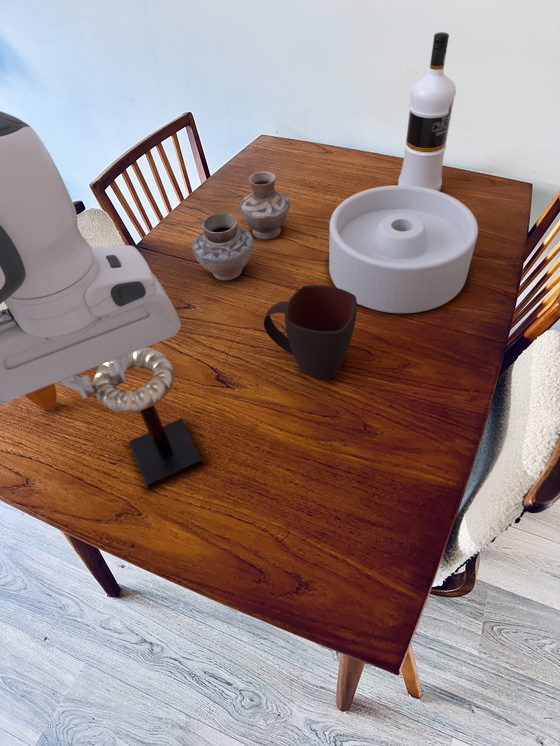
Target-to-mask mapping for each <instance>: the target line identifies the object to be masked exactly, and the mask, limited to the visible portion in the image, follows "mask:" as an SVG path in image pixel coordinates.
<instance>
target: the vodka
mask: <svg viewBox="0 0 560 746" xmlns="http://www.w3.org/2000/svg"><path fill="white" fill-rule="evenodd" d="M449 37H450V34H449V33H448V32H445V31H441V32H436V33H434V35H433V41H432V47H431V48H432V49H431V55H430V56H431V57H430V63H429V68H428V69H429V70H428V73H427V74H425V75H423V76H422V77H421V78H419V79H418V80H416V81H415V82H414V83H413V85H412V87H411V90H410V100H409V102H410V103H409V106H408V107H409V113H408V121H407V122H408V123H407V129H406V137H405V138H406V139H405V142H404V153H403V154H404V155H403V159H402V160H403V161H402V165H401V170H400V174H399V176H398V181H397V185H407V186H418V187H424V188H428V189H433V190H436V191H439V192H441V189H442V185H443V184H442V183H443V178H442V174H443V163H444V157H445V153H446V149H447V141H448V134H449V130H450V124H451V117H452V113H453V106H454V100H455V97H456V94H457V89H456V88H457V87H456V84H455V83H454V81H453V80H452V79H451V78H450V77H448V76H447V75H446V74H444V73H445V72H444V71H445V62H446V57H447V50H448V43H449Z"/></svg>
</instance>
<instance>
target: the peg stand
mask: <svg viewBox="0 0 560 746" xmlns="http://www.w3.org/2000/svg"><path fill="white" fill-rule="evenodd" d="M138 412H139V414H140V417H141V419H142V421H143V422H144V423H143V424H144V426H145V428H146V430H147V433H145V434H143V435H140V436H138V437H136V438H134V439H131V440H129V442H128V443H129V446H130V448H131V450H132V453H133V456H134V458H135V461H136V464H137V466H138V468H139V471H140V473H141V476H142V479H143V481H144V484H145V486H146V488H147V490H151V489H152V488H154V487H157V486H158V485H161V484H163V483H165V482H168V481H169V480H172V479H174V478H176V477H178V476H180V475H182V474H184V473H186V472H188V471H191V470H193V469H195V468H198V467H200V466H202V465H204V461H203V459H202V456H201V455H200V453H199V451H198V449H197V447H196V444H195V443H194V440H193V438H192V436H191V435H190V432H189V430H188V428H187V426H186V424H185V423H184V420H183V419H182V418H179V419H177V420H174V421H173V422H170V423H168V424H165V425H163V423H162V420H161V417H160V415H159V413H158V410H157V408H156V405H154V406H151V407H149V408H146V409H144V410H141V411H138Z"/></svg>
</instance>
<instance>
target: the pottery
mask: <svg viewBox="0 0 560 746" xmlns="http://www.w3.org/2000/svg"><path fill="white" fill-rule="evenodd" d="M276 179H277V177H276V174H275V173H273V172H271V171H265V170H262V171H261V170H260V171H257V172H255V173H252V174H251V175H249V177H248V183H249V185H250V187H251V190H252V192H251V193H249V194H248V195H246V196H245V197H244V198H243V199H242V200H241V201H240V203H239V211H240V213H241V215H242V217H243V220H244V221H245V223H246V224H247V225H248V226H249V228H251V229H252V233H251V232H250V231H249V230H247V229H245V228H243V227H240V226H238V219H237V218H236V216H235V215H233V214H230V213H225V212H218V213H214V214H211V215H209V216H207V217H206V218H204V220H202V221H203V222H202V230H203V232H201V233H200V234H199V235H197V236H196V238H195V239H194V240H193V242H192V245H191V248H192V249H191V250H192V253H193V255H194V258H195V259H196V261H197V262H198V264H199V265H200V266H201V267H202V268H203V269H205V270H206V271H207V272H209V273H211V274H212V275H213V276H214V278H215V279H217V280H220V281H231V280H234V279H237V278H238V277H240V275H241V274H242V272H243V269H244V267H246V265H247V264H248V263H249V261H250V259H251V257H252V255H253V251H254V248H255V247H254V245H255V241H254V237H255V238H257V239H260V240H271V239H274V238H276V237H278V236H279V235H280V234H281V232H282V231H281V226H282V225H283V224H284V223H285V222H286V219H287V217H288V214H289V211H290V206H291V201H290V198H289V197H288V196H287V195H285V194H284V193H282V192H280V191H278V190H276V189H275V185H276ZM252 234H253V235H252ZM253 236H254V237H253Z"/></svg>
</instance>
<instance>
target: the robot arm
mask: <svg viewBox="0 0 560 746" xmlns="http://www.w3.org/2000/svg"><path fill="white" fill-rule="evenodd" d="M77 215H78V214H77V210H76V207H75V205H74V202H73V200H72V197H71V195H70V192H69V191H68V188H67V186H66V184H65V182H64V180H63V177H62V176H61V173H60V171H59V169H58V167H57V165H56V163H55V161H54V159H53V157H52V155H51V154H50V152H49V150H48V148H47V147H46V145H45V143H44V142H43V140H42V139H41V137H40V135H39V134H38V133H37V131H36V130H35V129H34V128H33V127H31V125H29V124H28V123H26V122H25V121H23V120H22V119H20V118H18V117H17V116H14V115H12V114H9V113H7V112H5V111H0V305H1V304H3V303H4V305H5V306H6V308H5V309H2V310H0V403H8V402H10V401H13V400H16V399H18V398H21V397H23V396H25V394H28V393H31V392H33V391H36V390H38V389H41V388H43V387H46V386H48V385H51V384H53V383H54V384H57V383H59V382H60V383H61V385H62V386H64V387H67V388H68V389H72V390H74V391H78V393H79V394H80V396H81V397H82V400H84V399H87V398H89V397H92V396H94V395H96V392H95V390H94V386H93V381H91V378H90V376H89V375H88V374H87V375H83V376H79V374H81V373H83V372H87V371H89V370H91V369H94V368H97V367H99V366H100V365H102V364H104V363H107V362H109V361H112V360H114V359H115V362H114V365H111V366H109V367H107V368H108V370H109V372H110V375H111V377H112V380H113V381H114V384H115V386H116V387H117V386H119V385H121V384H124V383H126V382H128V378H127V376H126V375H127V374H126V373H125V372H126V371H125V370H126V367H127V364H128V361H129V357H128V355H127V354H130V353H132V352H135V351H137V350H140V349H142V348H145V347H149V346H152V345H155V344H158V343H160V342H163V341H165V340H168V339H170V338H173V337H175V336H177V335H178V333H179V331H180V329H181V327H182V324H181V321H180V318H179V315H178V313H177V310H176V309H175V307H174V305H173V303H172V301H171V299H170V296H169V295H168V294H167V291H166V290H165V289H164V287H163V285H162V283H161V282H160V280H159V279H158V277H157V276H156V275H155V274H154V273H153V272H152V271H151V268H150V266H149V264H148V262H147V260H146V259H145V257H144V255H142V254H141V252H140V251H139V250H138V249H137V248H136V247H135V246H134V245H106V246H105V245H103V246H91V245H90V243H89V242H88V240H87V239H86V238H85V237H84V236H83V234H82V233H81V231H80V229H79V225H78V216H77Z"/></svg>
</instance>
